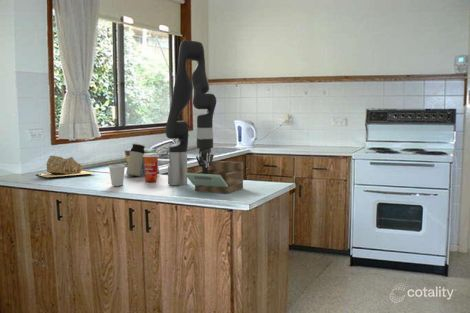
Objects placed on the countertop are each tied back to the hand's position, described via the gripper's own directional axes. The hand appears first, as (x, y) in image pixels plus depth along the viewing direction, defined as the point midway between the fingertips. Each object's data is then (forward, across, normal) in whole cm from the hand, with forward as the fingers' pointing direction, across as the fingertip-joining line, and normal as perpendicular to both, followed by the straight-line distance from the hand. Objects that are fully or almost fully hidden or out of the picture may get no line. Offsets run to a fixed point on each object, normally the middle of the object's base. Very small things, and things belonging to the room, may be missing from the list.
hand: (205, 175), depth 229 cm
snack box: (+7, -45, -66) cm, 80 cm away
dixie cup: (+8, -7, -55) cm, 56 cm away
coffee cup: (+8, -25, -47) cm, 54 cm away
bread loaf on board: (+12, -23, -105) cm, 108 cm away
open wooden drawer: (+8, -15, 0) cm, 17 cm away
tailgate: (+6, -5, 0) cm, 8 cm away
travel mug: (+7, -33, -65) cm, 73 cm away
